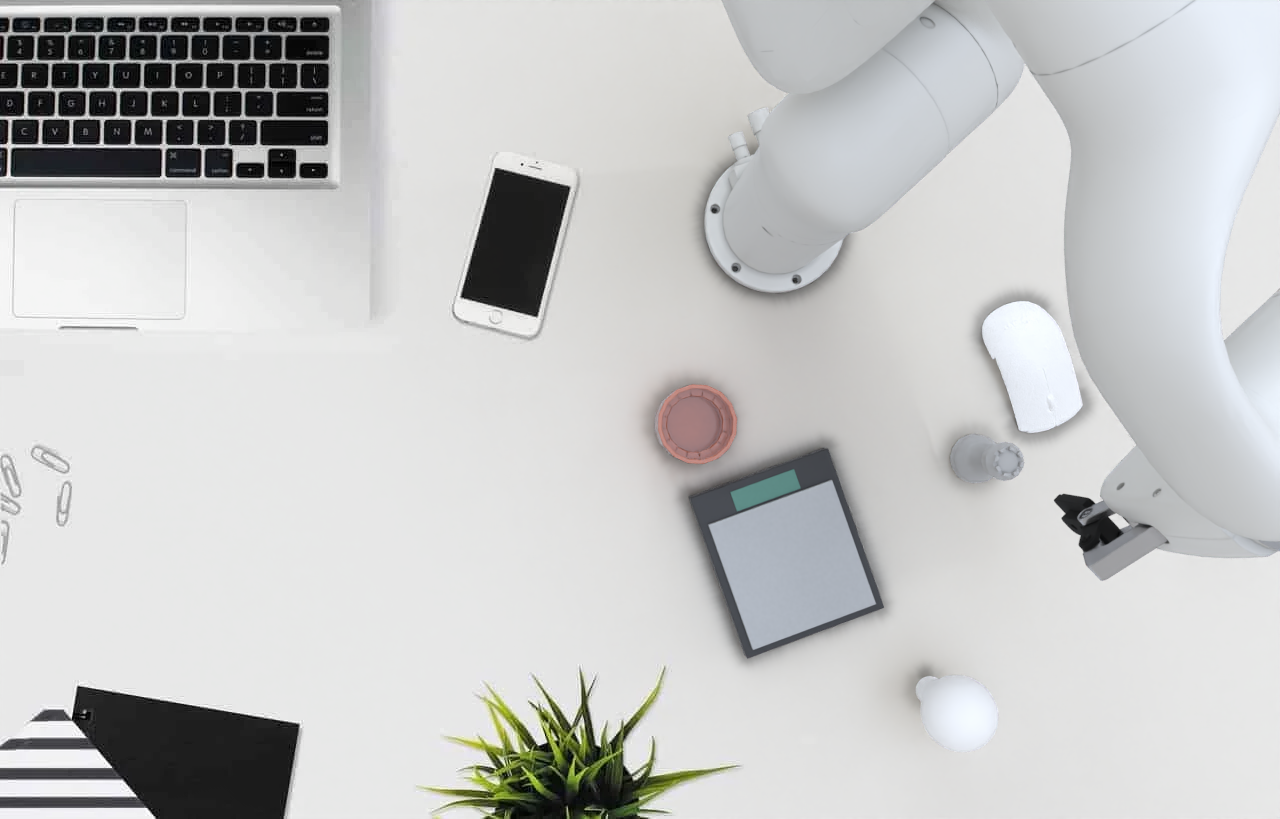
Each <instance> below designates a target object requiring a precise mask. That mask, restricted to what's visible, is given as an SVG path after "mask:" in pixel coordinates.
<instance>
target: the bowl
mask: <svg viewBox="0 0 1280 819" xmlns="http://www.w3.org/2000/svg"><path fill="white" fill-rule="evenodd" d="M737 429H738V417H737V414H736V410H735V409H734V405H733V403H732V402H731V401H730V400H729V399H728V397H727V396H726V395H725V394H724V393H723V392H722V391H721V390H718V388H717V389H716V388H714V387H713V386H710V385H708V384H698V383H697V384H694V383H692V384H689V385H685V386H683V387H679V388H677V389H673V391H671V392H669V394H667V396H666V397H664V398H663V399H662V400H661V401H660V404H659V406H658V407H657V410H656V412H655V415H654V432H655V435H656V438H657V441H658V443H659V445H660V446H661V447H662V448H663V450H664V451H665V452H666V453H667V455H669V456H671V457H672V458H675V459H677V460H680V461H681V462H683V463H686V464H692V465H693V464H696V465H705V464H708V463H710V462H713V461H716V460H718V459H719V458H721V457H722V456H723V455H724V454H725V453H726V452H727V451H729V449H731V447H732V444H733V442H734V440H735V438H736V435H737V431H738V430H737Z"/></svg>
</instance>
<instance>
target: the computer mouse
mask: <svg viewBox="0 0 1280 819" xmlns="http://www.w3.org/2000/svg"><path fill="white" fill-rule="evenodd" d="M981 337H982V340H983V343H984V345H985V347H986V349H987V352H988V354H989V355H990V358H991V359H992V360H995V361H996V364H997V367H998V369H999V370H1000V371H999V372H1000V375H1001V377H1002V380H1003V383H1004V385H1005V388H1006V391H1007V394H1008V397H1009V400H1010V403H1011V405H1012V410H1013V413H1014V418H1015V421H1016V425H1017V428H1018V431H1020V432H1022V433H1023V432H1025V433H1026V434H1036V433H1042V432H1046V431H1049V430H1051V429H1054V428H1055V427H1059V426H1061V425H1062V424H1064V423H1066V422H1068V421H1070V419H1072V418H1073V417H1074V416H1076V415H1077V413H1078V412H1080V411H1081V409H1082V407H1084V406H1083V404H1084V403H1083V400H1082V395H1081V391H1080V387H1079V382H1078V379H1077V378H1078V377H1077V375H1076V374H1077V373H1076V371H1075V366H1074V364H1073V360H1072V357H1071V354H1070V351H1069V348H1068V347H1067V346H1068V345H1067V343H1066V340H1065V337H1064V334H1063V332H1062V329H1061V327H1060V326H1059V324H1058V323H1057V321H1056V320H1055V319H1054V317H1053V316H1052V315H1050V313H1049V312H1048V311H1047V310H1045V309H1044V308H1043V307H1042V306H1040V305H1039V304H1038V303H1037V304H1036V303H1034V302H1031V301H1028V300H1027V301H1025V300H1019V301H1017V300H1016V301H1012V302H1009V303H1007V304H1003V305H1001V306H1000V307H997V308H996V309H995V310H993V311H992V312H990V313H989V315H987V316H986V317H985V319H984V321H983V323H982V327H981Z"/></svg>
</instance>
